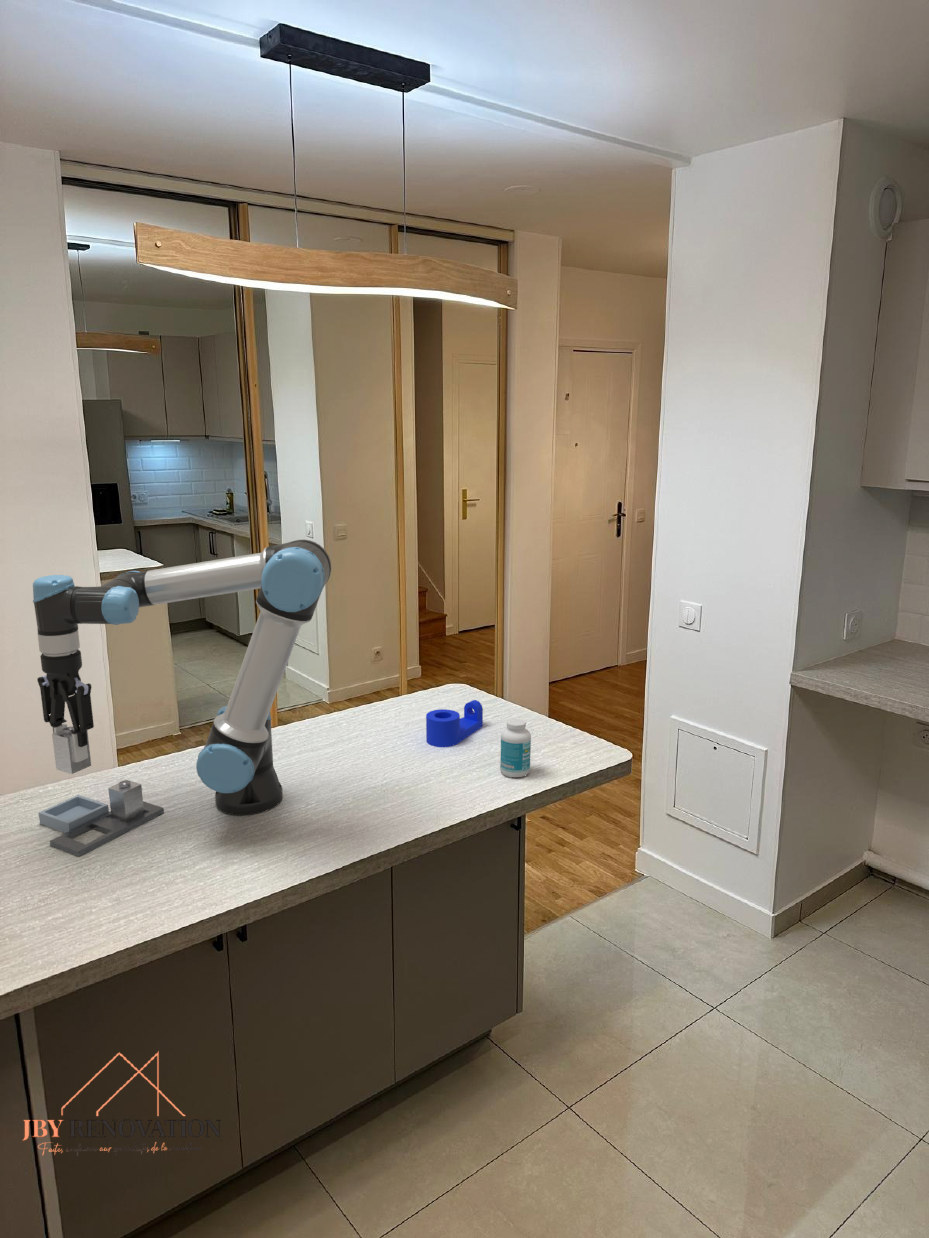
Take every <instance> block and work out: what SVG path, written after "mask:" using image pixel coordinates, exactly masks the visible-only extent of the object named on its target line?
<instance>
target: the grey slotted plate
mask: <svg viewBox="0 0 929 1238" xmlns="http://www.w3.org/2000/svg"><path fill="white" fill-rule="evenodd" d="M143 806H144V815H142V816H140V817H138V818H136V819H134V820H132V821H130V822H128V823H126V824H125V823H122V822H119V821H116V820H113V819H112V817H111V810H109V812H108V813H106V814H104V815H102V816H100V817H97V818H95V819H93V820H91V821H89V822H87V823H85V824H83V825H81V826H79V827H77V828H75V829H73V830H71V831H69V832H67V833H63V834H60V835H59V836H57V837H54V838H52V839H50V840H49V845H50V847H52V848H55V849H57V850H59V851H63V852H65V853H67V854H71V855H73V856H76V857H78V858H80V857H81V856H83V855H85V854H87V853H89V852H92V851H93V850H95V849H97V848H99V847H101V846H102V845H104V844H106V843H109V842H110V841H112V840H114V839H116V838H119V837H120V836H122V835H123V834H126V833H128V832H130V831H132V830H133V829H135V828H137V827H139V826H141V825H143V824H145V823H147V822H149V821H151V820H152V819H155V818H156V817H159V816H161V815H162V814H165V809H164V807H162V806H159V805H156V804H153V803H149V802H146V801H144V800H143ZM92 829H93V830H96V831H99V832H101V833H104V834H103V835H101V836H99V837H97V838H96V839H93V840H92V841H89V842H87V843H84V842H81V841H78V840H75V838H76V837H78V836H80V835H82V834H84V833H87V832H88V831H90V830H92Z"/></svg>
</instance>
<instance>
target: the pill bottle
mask: <svg viewBox="0 0 929 1238" xmlns="http://www.w3.org/2000/svg"><path fill="white" fill-rule="evenodd" d="M526 725H527V723H526V721H525V720H524V719H520V718H511V719H508V720H507V721H506V728H504V729H503V730H502V731H501V732H500V733H501V734H500V765H499V767H500V769H499V770H500V773H501V775H503V774H504V775H503V776H505V777H507V776H509V777H508V778H512V777H521V776H525V775H527V774H528V773H529V774H530V773H531V772H530V771H531V750H532V749H531V748H532V745H531V743H532V734H531V732H530V731H529V729H527V728H526ZM529 774H528V775H529ZM528 775H527V776H528ZM525 777H526V776H525ZM521 778H522V777H521Z"/></svg>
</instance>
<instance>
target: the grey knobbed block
mask: <svg viewBox="0 0 929 1238" xmlns="http://www.w3.org/2000/svg"><path fill="white" fill-rule="evenodd" d="M107 790H108V799H109V806H110V811H111V817H112V819H113V820H116V821H119V822H122V823H125V824H126V823H128V822H130V821H132V820H134V819H136V818H138V817H140V816H142V815H144V806H143V801H144V799H143V798H144V797H143V796H144V795H143V788H142V784H141V783H138V782H135V781H131V780H129V779H125V780H121V781H119V782H118V783H116V784H113V785H112V786H110V787H107Z"/></svg>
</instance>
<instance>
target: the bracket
mask: <svg viewBox="0 0 929 1238" xmlns="http://www.w3.org/2000/svg"><path fill="white" fill-rule="evenodd" d="M483 712H484V709H483V705H482V703H481V702H480V701H479V700H477V699H472V700H471V701H468V702H467V703H465V705H464V706H463V717H460V715H461V714H460V713H459V712H458V711H455V710H453V709H446V708H445V709H441V708H439V709H434V710H431V711H429V712H427V713H426V715H425V725H426V726H425V729H426V730H425V732H426V735H425V737H426V739H425V740H426V744H427V745H430V746H432V747H434V748H435V747H436V748H449V747H450V748H451V747H455V746H456V745H458V744H459V743H461V742H462V741H464V740H466V739H467V738H469V737H470V736H471V735H473V734H474V733H476V732H477V731H479V730H480V729H481V728H482V727H484V725H483V724H484V722H483V721H484V719H483V717H484V713H483Z"/></svg>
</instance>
